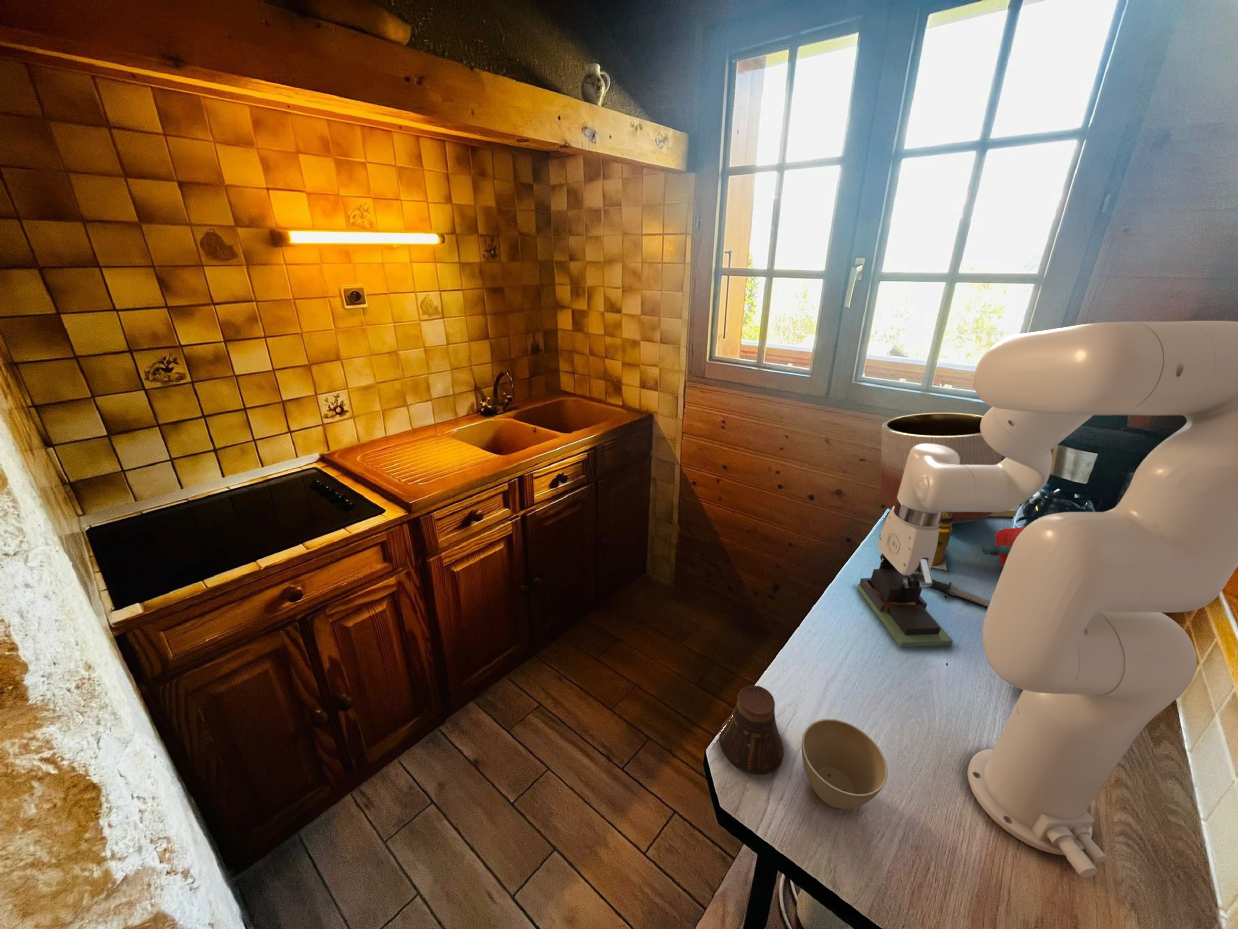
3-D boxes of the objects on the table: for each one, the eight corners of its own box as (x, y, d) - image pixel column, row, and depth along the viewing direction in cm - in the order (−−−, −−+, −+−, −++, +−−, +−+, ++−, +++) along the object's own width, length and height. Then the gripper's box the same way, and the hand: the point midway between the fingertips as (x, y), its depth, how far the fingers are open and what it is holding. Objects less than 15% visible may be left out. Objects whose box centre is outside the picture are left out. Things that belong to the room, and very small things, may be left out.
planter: (906, 483, 144) (908, 409, 137) (1012, 501, 124) (1021, 415, 117) (861, 511, 130) (862, 430, 123) (973, 536, 110) (980, 442, 103)
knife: (1022, 605, 94) (1020, 619, 91) (1018, 612, 95) (1016, 627, 91) (911, 564, 105) (905, 576, 102) (908, 572, 106) (903, 583, 102)
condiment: (908, 562, 109) (922, 516, 104) (908, 542, 116) (921, 498, 111) (946, 571, 106) (962, 524, 101) (943, 551, 113) (958, 506, 108)
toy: (1046, 570, 112) (963, 577, 111) (1036, 526, 114) (954, 532, 113) (1127, 572, 95) (1030, 580, 94) (1113, 520, 97) (1018, 527, 96)
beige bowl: (780, 788, 65) (787, 754, 62) (814, 739, 71) (823, 705, 68) (856, 850, 58) (868, 814, 55) (886, 789, 65) (899, 754, 62)
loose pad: (918, 601, 93) (922, 588, 92) (886, 602, 93) (890, 589, 92) (900, 580, 99) (903, 567, 98) (870, 581, 99) (873, 568, 97)
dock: (951, 645, 87) (955, 634, 86) (900, 647, 87) (904, 636, 86) (900, 587, 101) (903, 576, 100) (857, 588, 101) (859, 577, 100)
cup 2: (814, 715, 65) (794, 757, 70) (763, 664, 71) (748, 706, 76) (769, 749, 60) (751, 791, 66) (719, 692, 67) (706, 734, 72)
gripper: (873, 488, 96) (854, 563, 104) (926, 539, 80) (900, 622, 88) (910, 487, 96) (889, 562, 104) (971, 537, 81) (940, 620, 88)
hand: (894, 588), depth 96 cm, fingers closed on loose pad, 6 cm apart
